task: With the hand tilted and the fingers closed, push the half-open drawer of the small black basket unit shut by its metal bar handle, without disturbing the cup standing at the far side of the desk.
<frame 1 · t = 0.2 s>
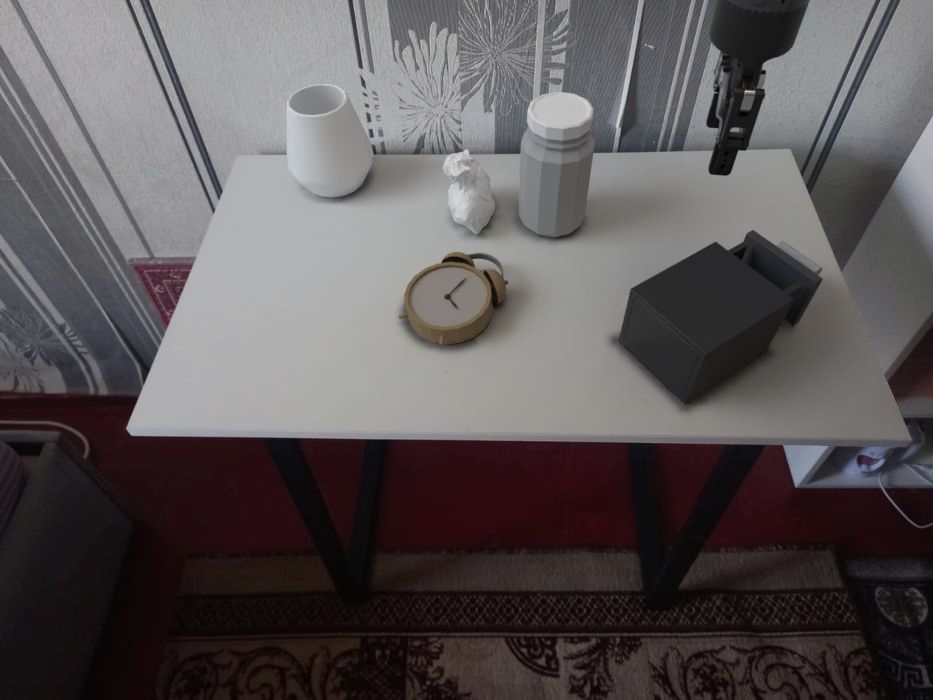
hand: (717, 148, 70), 22 cm above the table, tool pointing down, fingers open, 8 cm apart
drawer: (753, 289, 80), point 5 cm above the table, slide at 5.0 cm
bust: (470, 216, 98), on the table
jar: (551, 220, 97), on the table
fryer: (691, 346, 81), on the table
cup: (335, 180, 104), on the table
alarm clock: (458, 305, 87), on the table
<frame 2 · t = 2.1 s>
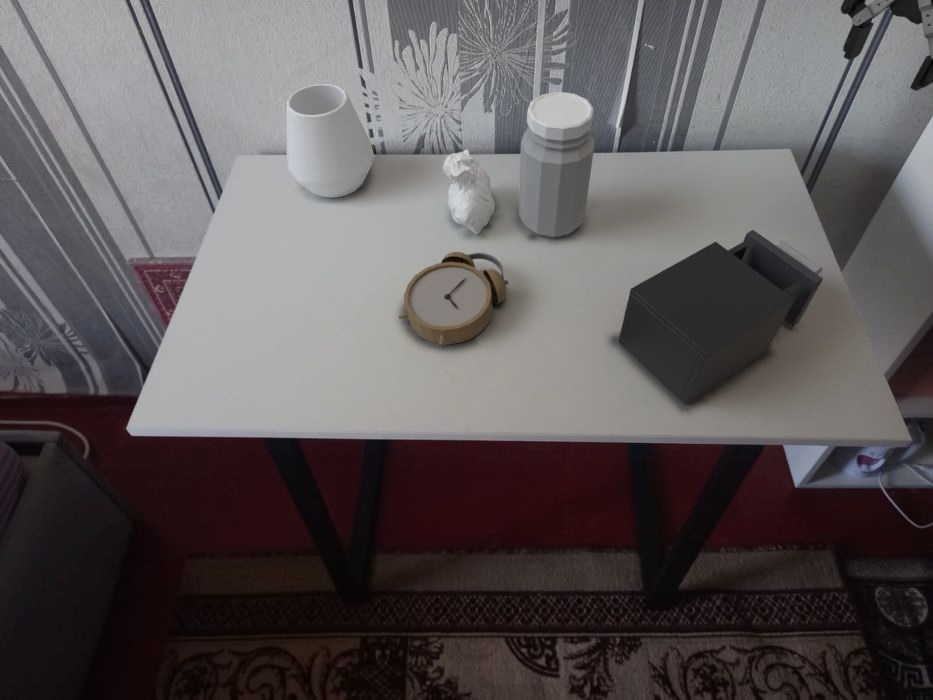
hand: (883, 71, 74), 24 cm above the table, tool pointing down, fingers open, 8 cm apart
nothing on the table moved.
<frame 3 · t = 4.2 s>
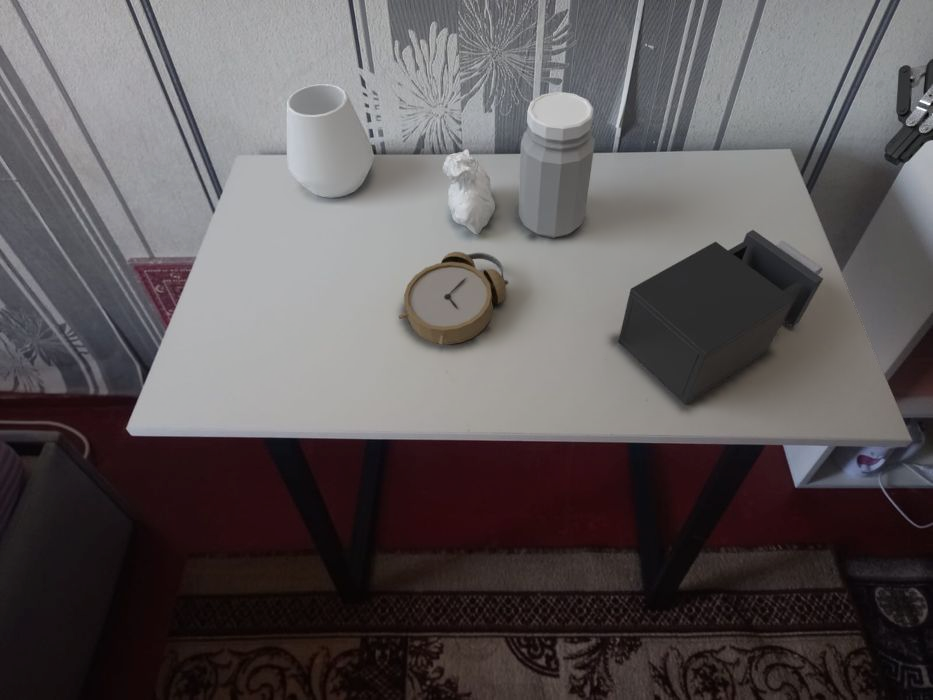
hand: (890, 160, 77), 16 cm above the table, tool tilted 45°, fingers closed
nothing on the table moved.
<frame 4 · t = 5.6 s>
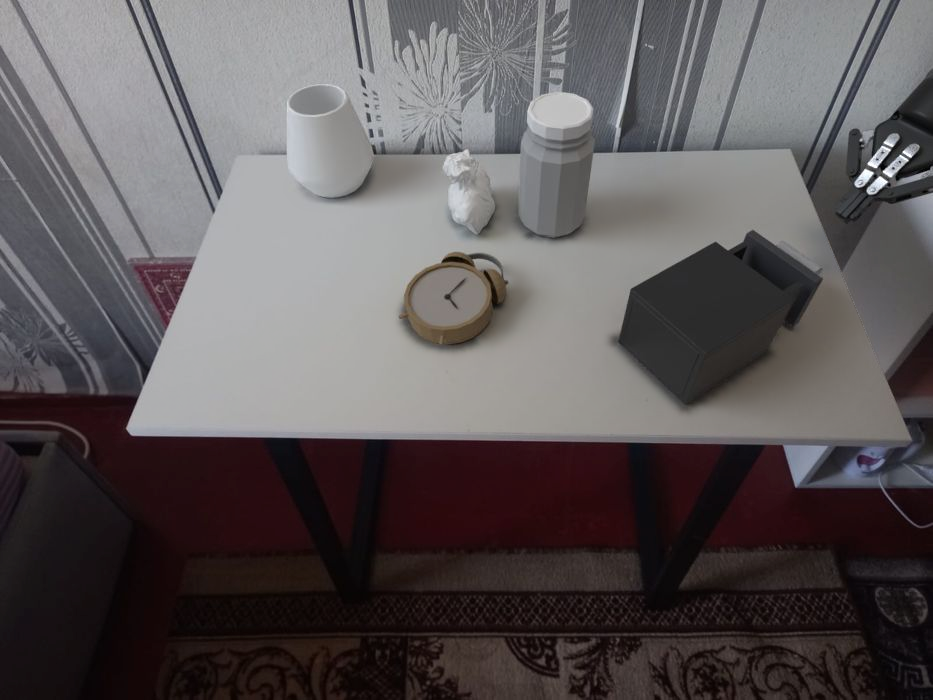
hand: (840, 218, 81), 9 cm above the table, tool tilted 45°, fingers closed
nothing on the table moved.
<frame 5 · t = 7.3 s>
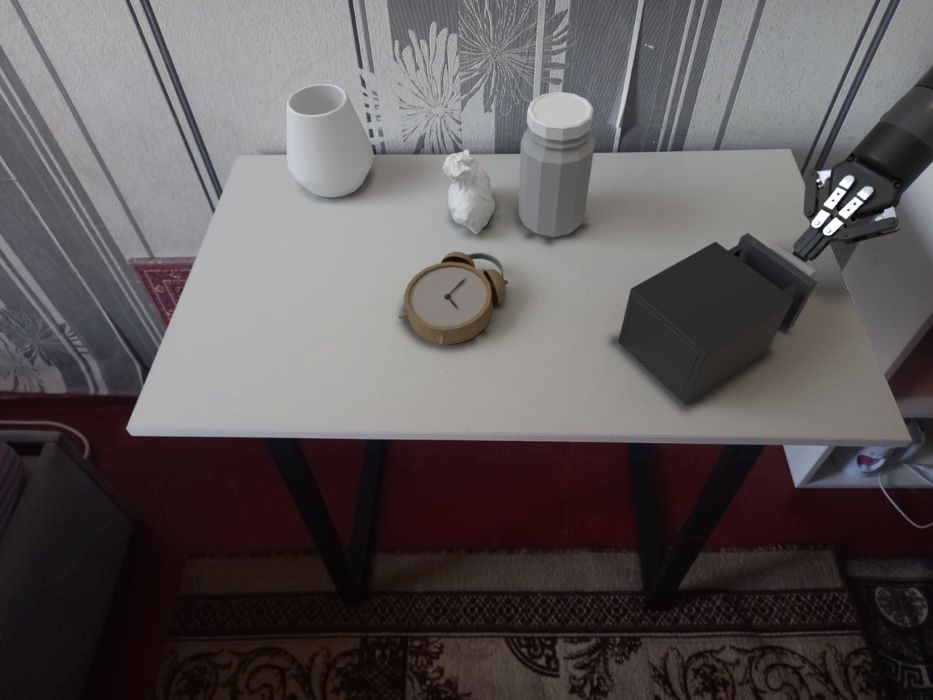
hand: (798, 258, 81), 6 cm above the table, tool tilted 45°, fingers closed
drawer: (747, 293, 80), point 5 cm above the table, slide at 4.0 cm, touching gripper
everything else where it was.
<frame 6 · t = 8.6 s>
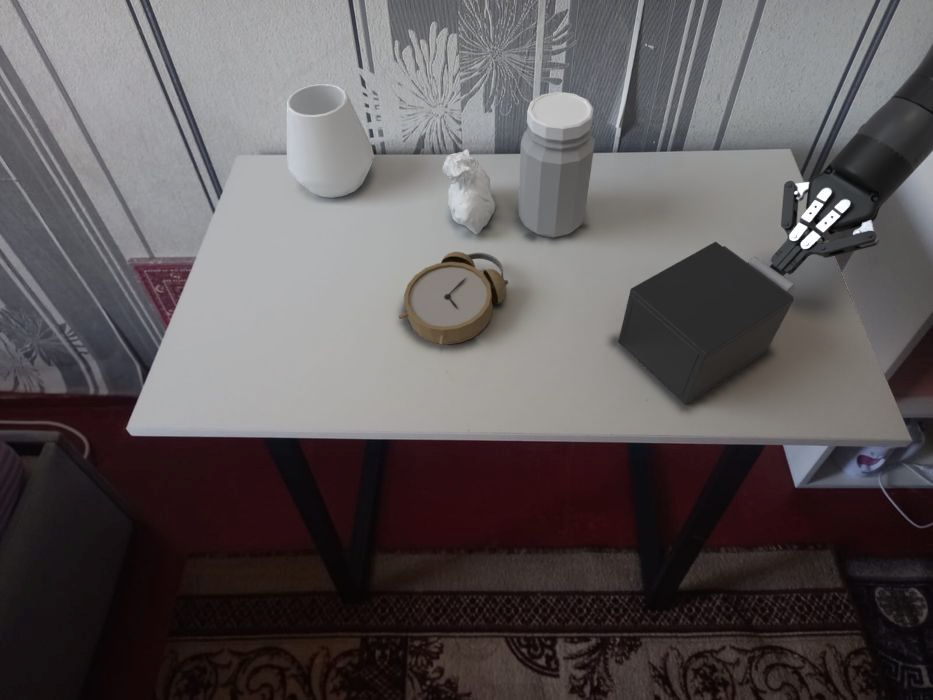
hand: (776, 271, 80), 6 cm above the table, tool tilted 45°, fingers closed
drawer: (724, 307, 78), point 5 cm above the table, slide at 0.0 cm, touching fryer, gripper
everything else where it was.
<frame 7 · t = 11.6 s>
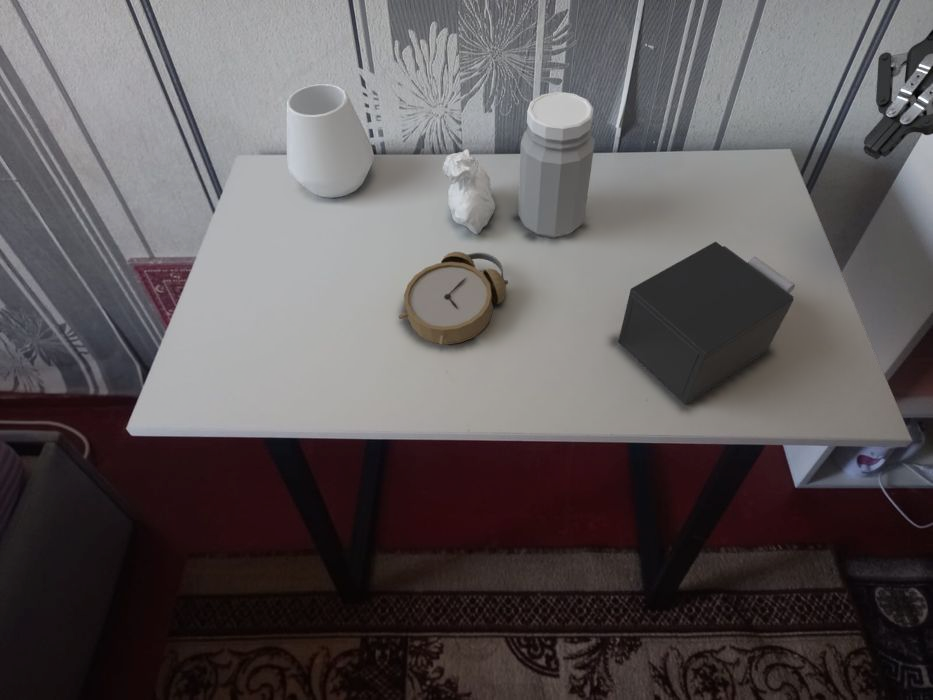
hand: (869, 153, 73), 19 cm above the table, tool tilted 45°, fingers closed
drawer: (724, 307, 78), point 5 cm above the table, slide at 0.0 cm, touching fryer
everything else where it was.
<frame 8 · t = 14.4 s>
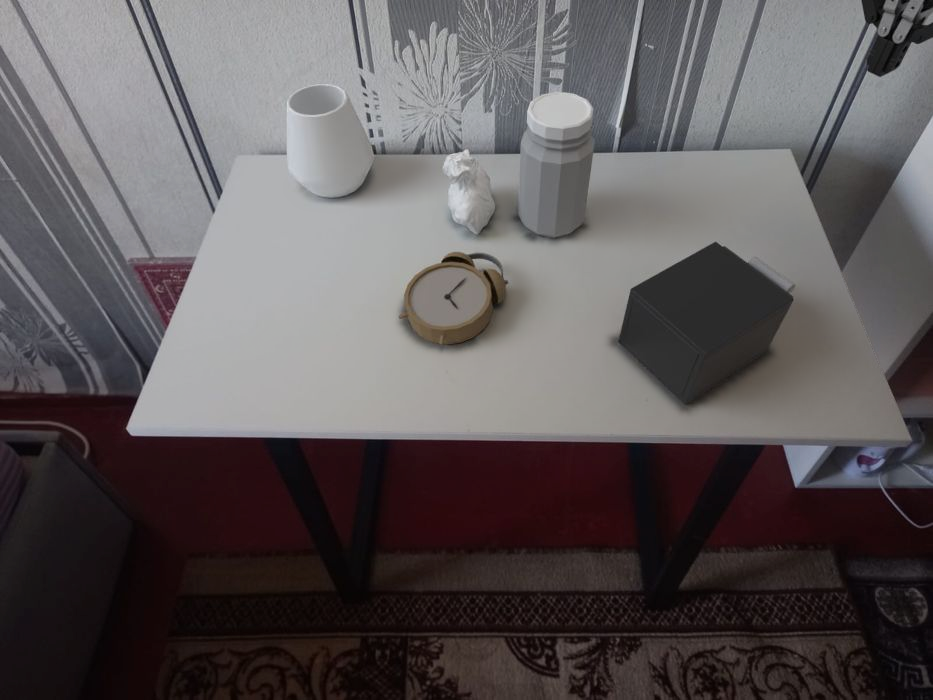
hand: (878, 71, 69), 27 cm above the table, tool pointing down, fingers closed
nothing on the table moved.
at the end: drawer slide at 0.0 cm; cup moved 0.2 cm from its start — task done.
